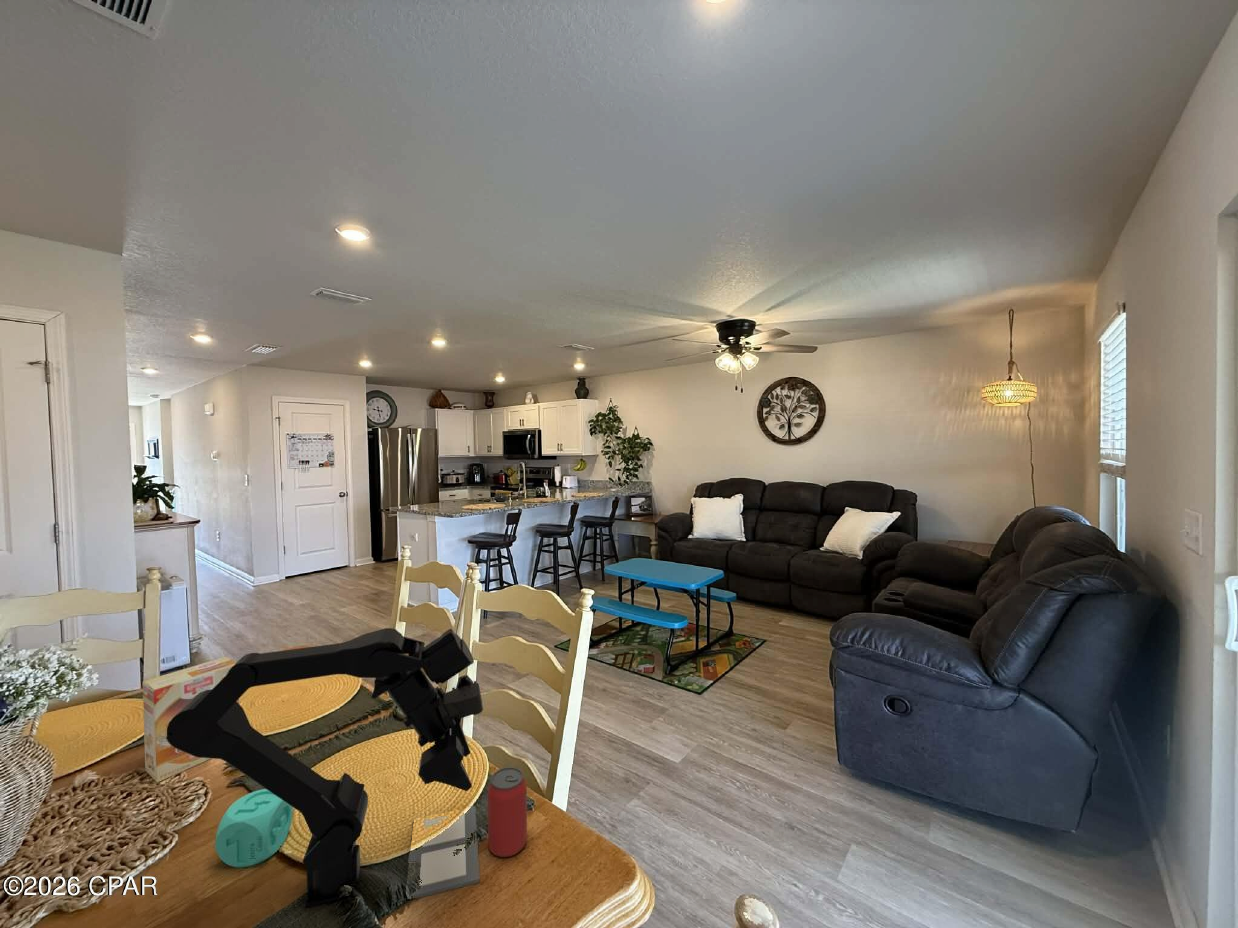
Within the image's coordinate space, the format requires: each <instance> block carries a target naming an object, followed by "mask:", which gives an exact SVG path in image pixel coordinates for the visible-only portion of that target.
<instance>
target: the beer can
mask: <svg viewBox="0 0 1238 928" xmlns="http://www.w3.org/2000/svg"><path fill="white" fill-rule="evenodd" d="M524 776H525V775H524V772H523V771H522V770H521V769H519V768H518V767H515V766H514V767H513V766H506V767H502V768H499V769H498V770H496V771H495V772H494V773H493V774H492V775H491V777H490V782H489V784H488V788H487V846H488V849H489V850H490V852H491V853H492V854H493V855H494V856H496V857H500V858H501V857H502V858H507V857H512V856H514V855H516V854H518V853H519V852H521V850H523V848H524V846H525V845H526V842H527V840H528V839H527V838H528V834H527V833H528V826H527V825H528V819H527V818H528V816H527V815H528V807H527V806H528V805H527V804H528V802H527V800H528V799H527V796H528V795H527V789H528V788H527V783H526V782H527V781H526V778H525V777H524Z"/></svg>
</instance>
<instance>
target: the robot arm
mask: <svg viewBox="0 0 1238 928" xmlns="http://www.w3.org/2000/svg"><path fill="white" fill-rule="evenodd" d="M474 662H475V661H474V657H473V654H472V652H471V650H470V648H469V647H468V645H467V643H466V641H465V640H464V638H461V637H460V636H459V635H458V634H457V633H455V632H454V630H453V628H449V629H447V630H446V631H444V632H443V633H442V634H441V635H440V636H439V637H437V638H436V639H434V640H432V641H431V642H429V643H428V644H426V643H425V642H424V641H421V640H417V639H413V638H410V637H406V636H404V635H403V634H402V633H401V632H400V631H398V630H397V629H395V628H392V627H391V628H390V627H386V628H381V629H377V630H375V631H371V632H367V633H363V634H362V635H359V636H357V637H355V638H352V639H350V640H346V641H344V642H340V643H330V644H324V645H316V646H307V647H302V648H293V649H285V650H278V651H270V652H262V653H259V652H250V653H247V654H246V653H245V655H243V656H241V657H240V658H239V659H238V660H237V662H236V664H235V665H234V666H233V667H232V668H231V669H230V670H229V671H228V674H227V675H226V676H225V677H224V678H223V679H222V680H221V681H220V682H219V683H218V684H217V685H216V686H215V687H214V688H213V689H212V690H206V691H203V692H200V693H199V694H197V695H196V696H195V697H194V698H193V699H192V700H190V701H189V702H188V703H187V704H186V705H185V706H184V707H183V708H182V709H181V710H180V711H179V712H178V713H177V714H176V715H175V716H174V717H173V719H172V720H171V721H170V722H169V724H168V727H167V737H166V739H167V741H168V743H169V744H170V745H171V746H172V747H174V748H176V749H178V750H181V751H183V752H185V753H188V754H190V755H192V756H195V757H199V758H212V759H216V760H217V759H218V760H221V761H224V762H226V764H229V765H230V766H231V767H232V768H234V769H236V770H237V771H239V772H240V773H241V774H243V775H244V776H246V777H248V778H249V779H251V780H252V781H253V782H255V783H257V784H258V785H259V786H261V787H263V789H267V790H268V791H270V792H271V793H273V794H274V795H276V796H277V797H279V798H280V799H282V800H283V801H285V802H286V803H288V804H289V805H291V806H292V807H293V809H295V810H296V811H298V812H299V813H300V814H301V815H302V817H303V818H304V821H305V823H306V825H307V827H308V830H309V832H310V834H311V837H310V840H309V842H308V845H307V848H306V850H305V853H304V857H303V859H302V863H303V865H304V867H305V869H306V891H307V892H306V895H305V898H304V901H303V907H304V908H308V907H313V906H315V905H319V904H320V905H321V904H323V903H328V902H332V901H336V899H337V900H339V899H338V898H339V897H340V895H338V894H337V893H338V890H339V889H340V887H342V886H344V885H349V886H351V887H353V885H354V886H355V883H356V882H357V881H358V878H359V875H360V870H361V851H360V850H361V849H360V848H361V847H360V845H359V844H356V841H357V840H358V839H359V838H360V836H361V834H362V831H363V826H364V822H365V819H366V815H367V809H368V806H369V795H368V792H366V790H365V789H364V788H365V785H366V784H365V783H360V782H358V781H356V780H355V779H354V778H353V777H351V775H350V774H348V773H343V774H342V776H341V777H340V779H339V780H338V779H327V778H324V777H323V776H322V775H321V774H319V773H318V772H316V771H314V769H312V768H310V767H309V766H307V765H306V764H305V763H303V762H302V761H301V760H299V759H298V758H296V757H295V756H294V755H292V754H291V753H289V752H287V751H286V750H285V749H284V748H282V747H281V746H279V745H278V744H276V743H275V742H274V741H272V740H271V739H269V738H268V737H266V736H265V735H263V734H262V733H261V732H259V731H258V730H257V729H255V728H253V727H252V725H251V723H250V720H249V719H248V717H247V714H246V713H245V710H244V708H243V706H242V705H241V704H240V702H239V703H238V702H237V700H238V699H239V700H240V698H241V697H242V696H243V695H244V694H245V693H246V692H247V691H248V690H249V689H250V688H253V687H259V686H266V685H273V684H280V683H287V682H293V681H300V680H308V679H314V678H315V679H316V678H320V677H321V678H322V677H328V676H336V675H345V676H346V675H347V676H351V677H355V678H358V679H374V681H373V682H374V684H373V685H374V686H373V690H372V694H371V699H373V700H375V699H377V698H379V697H380V696H381V695H383V694H384V693H386V692H387V694H388V696H390V698H391V699H392V701H393V703H394V704H395V706H396V707H397V708H398V710H400V712H401V713H402V715H403V716H404V719H403V724H404V726H405V727H406V728H409V727H410V726H411V727H412V729H413V730H414V732H416V735H418V738H417V739H418V740H417V744H418V745H419V746H420V748H423V747H424V746H425V745H426V744H432V743H434V744H433V745H431V746H430V747H429V748H427V749H425V750H424V751H423V752H422V753H421V756H420V759H419V766H418V774H417V775H418V776H419V778H420V779H421V780H422V782H423V783H424V784H425V785H429V784H432V783H434V782H437V783H440V784H444V785H448V786H450V787H454V788H457V789H459V790H463V791H465V792H468V791H469V790H470V789H472V787H473V784H472V781H471V780H470V776H469V774H468V772H467V770H466V768H465V766H464V763H463V762H462V761H463V759H464V757H468V756H469V755H470V754H471V750H470V747H469V744H468V742H467V738H466V736H465V733H464V730H463V727H462V724H461V722H462V719H463V718H466V717H469V716H472V715H474V716H476V715H480V714H481V713H482V712H483V710H484V706H483V700H482V694H481V690H480V688H481V687H480V683H478V682H477V681H476V680H472V679H471V678H470V677H469V675H468V674H466V675H461V676H459V677H458V680H457V682H456V686H454V687H452V688H451V690H450V691H447V692H445V691H444V690H443V689H442V687H439V686H436V687H434V685H433V684H432V683H435V684H436V685H439V684H444V683H446V682H447V681H449V680H451V679H453V677H455V676H457V675H458V674H459V673H460V672H462V671H464V670H465V669H468V667H470V666H471V665H473V664H474ZM354 882H355V883H354ZM353 888H354V887H353Z"/></svg>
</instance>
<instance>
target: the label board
mask: <svg viewBox="0 0 1238 928" xmlns="http://www.w3.org/2000/svg"><path fill="white" fill-rule="evenodd" d="M476 811H477V810H476V805H471V808H470V809H469V810H468V812H467V813H465V814H464V812H463V813H462V815H461V816H459V819H457V820H456V822H454V823H453V824H452V825H451V826H450V827H449V828H447V829H445V831H443V832H442V833H441V834H439V835H437V836H436V837H435V838H433V839H431V840H430V841H429V840H428V841H427V842H425V843H424V844H423V845H422V847H421V848H419V849H417V850H414V851H412V852H410V853H408V861H407V864H408V863H416V862H417V861H418V862H419V861H421V862H419V863H421V867H420V879H421V880H422V881H421V880H419V881H421V882H422V883H421V882H420V883H419V884H420V885H421V886H422V888H420V889H419V890H418V891H416V892H414V893H413V894H412V895H411V896H413V897H415V898H416V899H420V898H424V897H427V896H431V895H436V894H440V893H442V892H448V891H451V890H454V889H455V890H456V889H458V888H462V887H467V886H471V885H475V884H478V883H480V867H479V866H480V864H479V848H478V846H479V844H478V840H477V841H476V842H475V843H473V844H472V846H471V847H470V848H469V849H467V850H465V848H464V847H465V844H463V845H458V846H457V845H456V844H460V843H461V844H462V843H464V842H463V841H465V840H470V839H467V838H470V837H471V833H473V832H474V830H477V829H478V828H477V813H476ZM445 817H449V816H441V817H440V819H439V817H436V818H438V819H435V818H434V819H433V818H432V819H427V820H428V821H427V820H424V827H428V826H429V827H430V826H436V825H432V824H436V823H437V826H438V823H440V822H438V821H442V820H443V819H441V818H445ZM450 817H451V816H450ZM444 820H445V819H444ZM444 820H443V821H444ZM430 821H431V822H430ZM432 821H433V822H432ZM434 821H435V822H434ZM436 821H437V822H436ZM430 823H431V825H430ZM441 823H442V822H441ZM428 824H429V825H428ZM425 829H426V828H425ZM456 849H462V851H460V853H459V854H458V855H456V854H455V856H453V855H454V854H453V852H456V851H454V850H456ZM416 859H417V860H416ZM418 859H419V860H418ZM420 859H421V860H420ZM409 861H410V862H409ZM411 861H412V862H411ZM413 861H414V862H413ZM415 861H416V862H415ZM418 862H417V863H418ZM420 885H419V886H420Z"/></svg>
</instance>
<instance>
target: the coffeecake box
mask: <svg viewBox="0 0 1238 928" xmlns="http://www.w3.org/2000/svg"><path fill="white" fill-rule="evenodd" d="M236 663H237V662H236V661H234V660H232V659H230V658H229V657H227V656H223V657H220V658H217V659H214V660H210V661H207V662H203V663H200V664H197V665H194V666H188V667H186V668H183V669H180V670H177V671H173V672H169V673H167V674H163V675H160V676H157V677H153V678H150V679H146V680H143V681H142V702H143V703H142V707H143V709H142V710H143V738H144V739H143V741H144V766H145V767H144V768H145V772H146V773H148V775H149V776H150V777H151V778H152V779H153V780H154V781H155V782H156V783H159V782H161V781H164V780H166V779H168V778H170V777H172V776H175V775H178V774H180V773H182V772H184V771H186V770H188V769H191V768H193V767H197V765H200V764H202V763H204V762H207V761H209V760H211V759H213V758H199V757H195V756H192V755H190V754H188V753H185V752H183V751H181V750H178V749H176V748H174V747H172V746H171V745H170V744H169V743H168V741H167V739H166V737H167V727H168V724H169V722H170V721H171V720H172V719H173V717H174V716H175V715H176V714H177V713H178V712H179V711H180V710H181V709H182V708H183V707H184V706H185V705H186V704H187V703H188V702H189V701H190V700H192V699H193V698H194V697H195V696H196V695H197V694H199V693H200V692H203V691H206V690H212V689H213V688H214V687H215V686H216V685H217V684H218V683H219V682H220V681H221V680H222V679H223V678H224V677H225V676H226V675H227V674H228V671H229V670H230V669H231V668H232V667H233V666H234V665H235V664H236ZM237 702H238V703H239V704H240V698H239V699H238V700H237Z"/></svg>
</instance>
